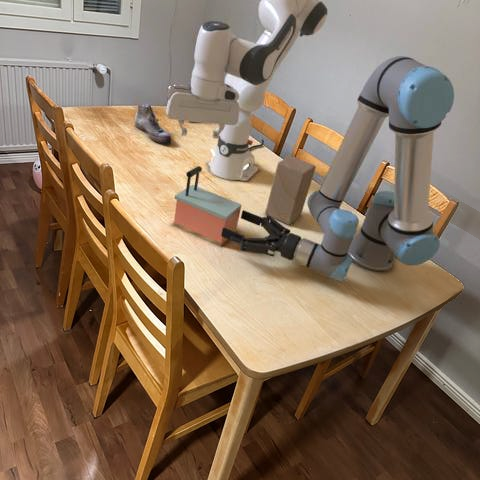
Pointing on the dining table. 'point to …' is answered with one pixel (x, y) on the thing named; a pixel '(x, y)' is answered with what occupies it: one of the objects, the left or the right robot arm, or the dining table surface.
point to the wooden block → (289, 189)
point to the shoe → (151, 124)
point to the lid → (206, 198)
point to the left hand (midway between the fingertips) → (199, 136)
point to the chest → (203, 222)
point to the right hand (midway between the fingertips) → (232, 222)
